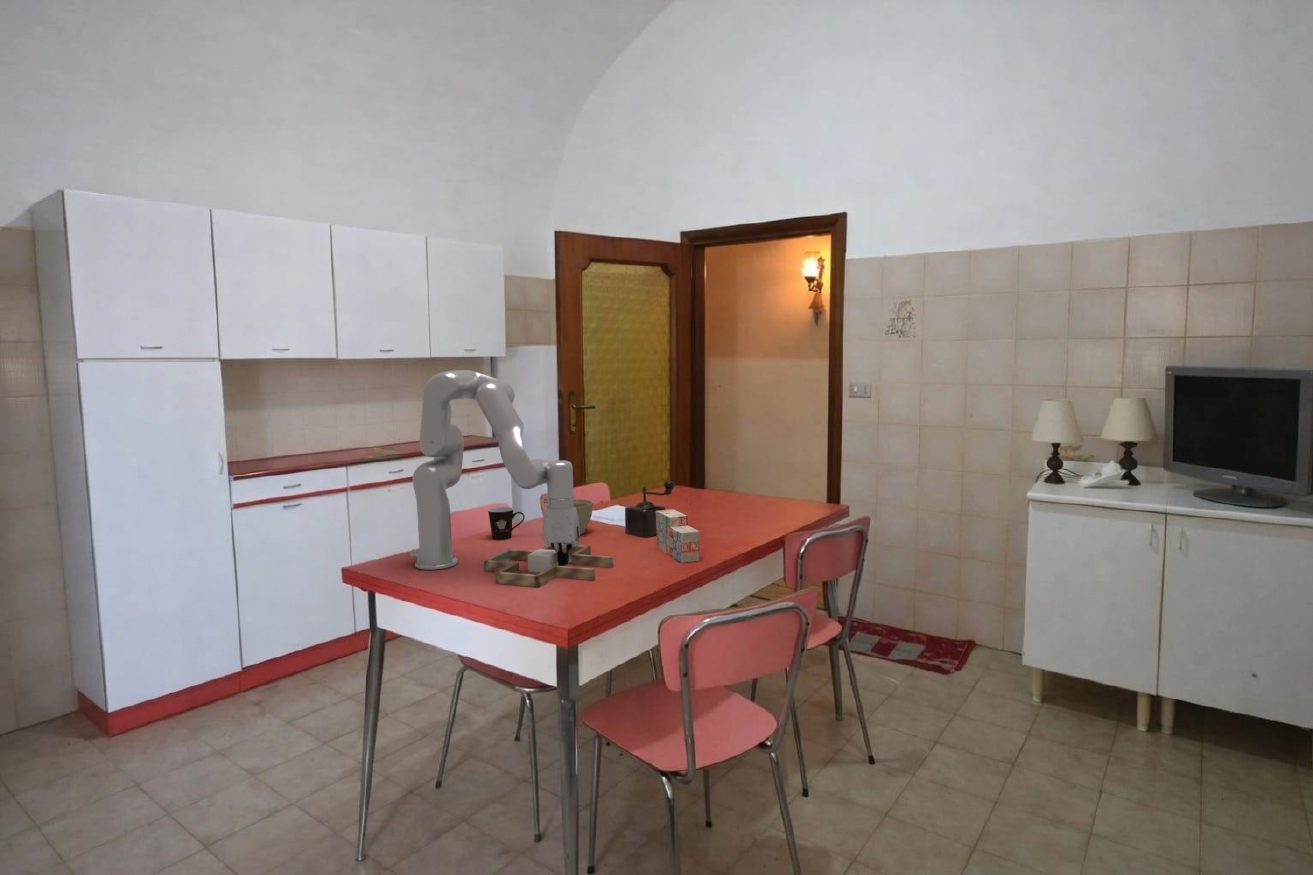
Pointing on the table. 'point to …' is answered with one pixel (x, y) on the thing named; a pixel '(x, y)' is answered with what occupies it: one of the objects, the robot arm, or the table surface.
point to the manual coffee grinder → (645, 514)
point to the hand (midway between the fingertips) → (563, 564)
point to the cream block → (541, 560)
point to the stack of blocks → (677, 536)
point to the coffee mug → (502, 522)
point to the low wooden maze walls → (577, 556)
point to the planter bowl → (583, 512)
